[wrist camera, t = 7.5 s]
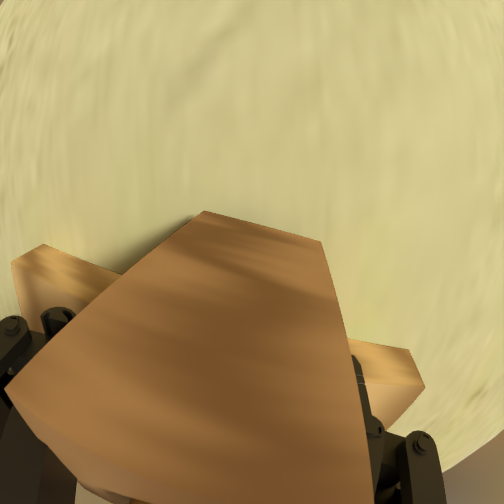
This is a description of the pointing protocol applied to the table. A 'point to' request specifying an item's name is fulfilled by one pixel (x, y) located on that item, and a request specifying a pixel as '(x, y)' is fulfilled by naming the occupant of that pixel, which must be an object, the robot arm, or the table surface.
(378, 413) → the plank
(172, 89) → the table surface
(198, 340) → the wooden box
